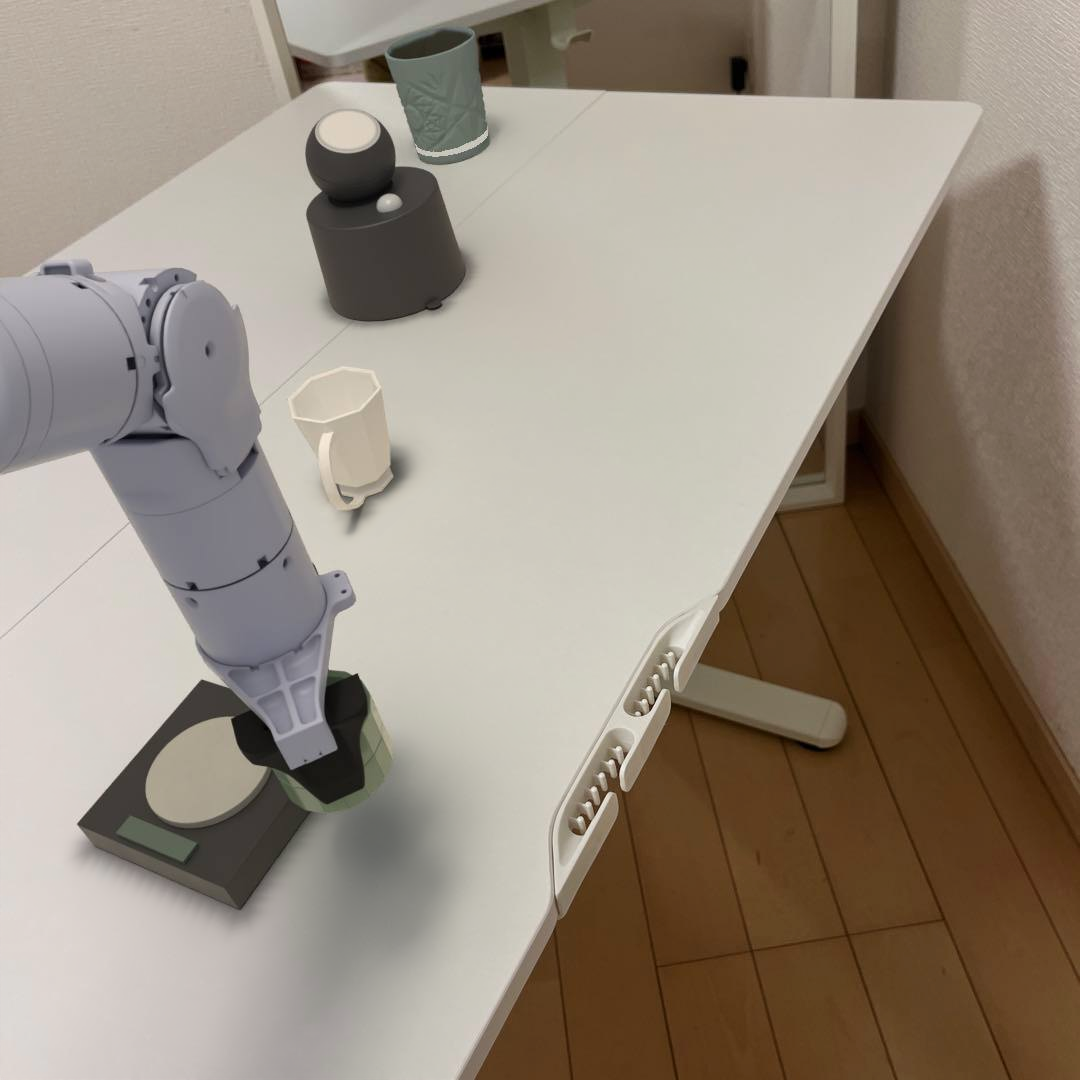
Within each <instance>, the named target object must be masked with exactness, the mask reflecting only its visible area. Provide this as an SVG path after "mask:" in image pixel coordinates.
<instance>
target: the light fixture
mask: <svg viewBox="0 0 1080 1080" xmlns="http://www.w3.org/2000/svg"><path fill="white" fill-rule="evenodd" d="M396 153H397V152H396V147H395V144H394V141H393V137H392V136H391V134H390V133H389V131H388V129H387V128H386V126H385V125H383V123H381V121H380V120H379V119H377V117H375V116H374V115H372V114H371V113H368V112H367V111H364V110H361V109H356V108H341V109H337V110H332V111H330V112H328V113H326V114H325V115H323V116H322V117H321V118H320V119H319V120H318V121H317V122H316V123H315V124H314V125H313V127H312V128H311V131H310V132H309V135H308V136H307V139H306V143H305V153H304V155H305V162H306V167H307V170H308V173H309V175H310V177H311V179H312V182H313V183H314V184H315V185H316V187H317V188H318V189H319V190H320V192H319V193H318V194H316V196H314V198H313V199H311V201H310V202H309V204H308V205H307V208H306V210H305V211H306V212H305V217H306V221H307V224H308V228H309V232H310V235H311V240H312V242H313V246H314V249H315V253H316V256H317V260H318V264H319V267H320V272H321V274H322V278H323V281H324V282H323V283H324V285H325V288H326V292H327V293H326V294H327V296H328V300H329V303H330V305H331V307H332V309H333V310H334V311H335V312H336V313H337V314H339V315H341V316H343V317H345V318H349V319H351V320H357V321H368V322H369V321H385V320H391V319H398V318H402V317H406V316H409V315H412V314H415V313H418V312H421V311H423V310H425V309H427V308H428V309H435V308H438V307H440V306H441V305H442V303H443V302H442V300H444V299H446V298H447V297H449V296H450V295H451V294H452V293H453V292H454V291H455V290H456V289H457V288H458V287H459V286H460V284H461V283H462V281H463V279H464V276H465V273H466V266H465V263H464V259H463V256H462V252H461V251H460V246H459V244H458V241H457V237H456V234H455V231H454V228H453V226H452V221H451V219H450V216H449V212H448V209H447V206H446V202H445V199H444V198H443V194H442V191H441V188H440V185H439V182H438V179H437V177H436V176H435V175H434V174H433V173H432V172H431V171H428V170H426V169H424V168H420V167H416V166H403V165H402V166H399V165H398V166H396V163H397V162H396V161H397V159H396V157H397V155H396Z"/></svg>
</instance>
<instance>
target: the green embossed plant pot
mask: <svg viewBox="0 0 1080 1080" xmlns="http://www.w3.org/2000/svg"><path fill="white" fill-rule="evenodd" d="M477 45H478V44H477V36H476V32H475V30H474V29H472V28H470V27H467V26H459V25H453V26H452V25H449V26H440V27H434V28H433V27H432V28H428V29H425V30H421V31H417V32H414V33H411V34H409V35H406V36H404V37H401V38H399V39H397V40H396V41H394V42H392V43H391V44H390V45H388V46H387V47H386V48H385V50H384V58H385V60H386V62H387V66H388V69H389V71H390V75H391V78H392V80H393V82H394V83H395V88H396V91H397V95H398V98H399V99H400V104H401V106H402V107H403V113H404V114H405V118H406V123H407V125H408V128H409V131H410V133H411V136H412V140H413V144H414V143H415V144H416V145H417V147H418V148H420V149H422V150H425V151H430V152H433V151H434V152H442V151H445V150H450V149H454V148H458V147H460V146H462V145H464V144H466V143H469V142H471V141H474V140H476V139H477V138H478V137H480V136H481V135H482V134H484V132H485V131H486V130H487V126H488V123H487V120H486V118H487V117H486V114H487V113H486V112H487V111H486V109H485V107H486V105H485V104H486V103H485V101H484V93H483V84H482V82H481V81H482V79H481V73H480V70H479V69H480V65H479V54H478V46H477ZM489 143H490V133H489V132H488V136H487V138H486V139H485V140H484V141H483V142H482V143H480V144H479V145H477V146H476V147H474V148H472V149H469V150H467V151H464V152H461V153H458V154H453V155H448V156H439V157H432V156H425V155H422V154H420V153H418V152H417V150H416V149H415V151H416V153H417V154H416V155H417V156H418V157H419V159H420V160H421V161H422V162H423V163H426V164H430V165H448V164H449V165H450V164H453V163H454V164H455V163H458V162H462V161H466V160H468V159H470V158H473V157H475V156H477V155H478V154H481V153H482V152H484V150H485V149H486V148H487V147H488V146H489ZM415 144H414V145H415Z"/></svg>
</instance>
